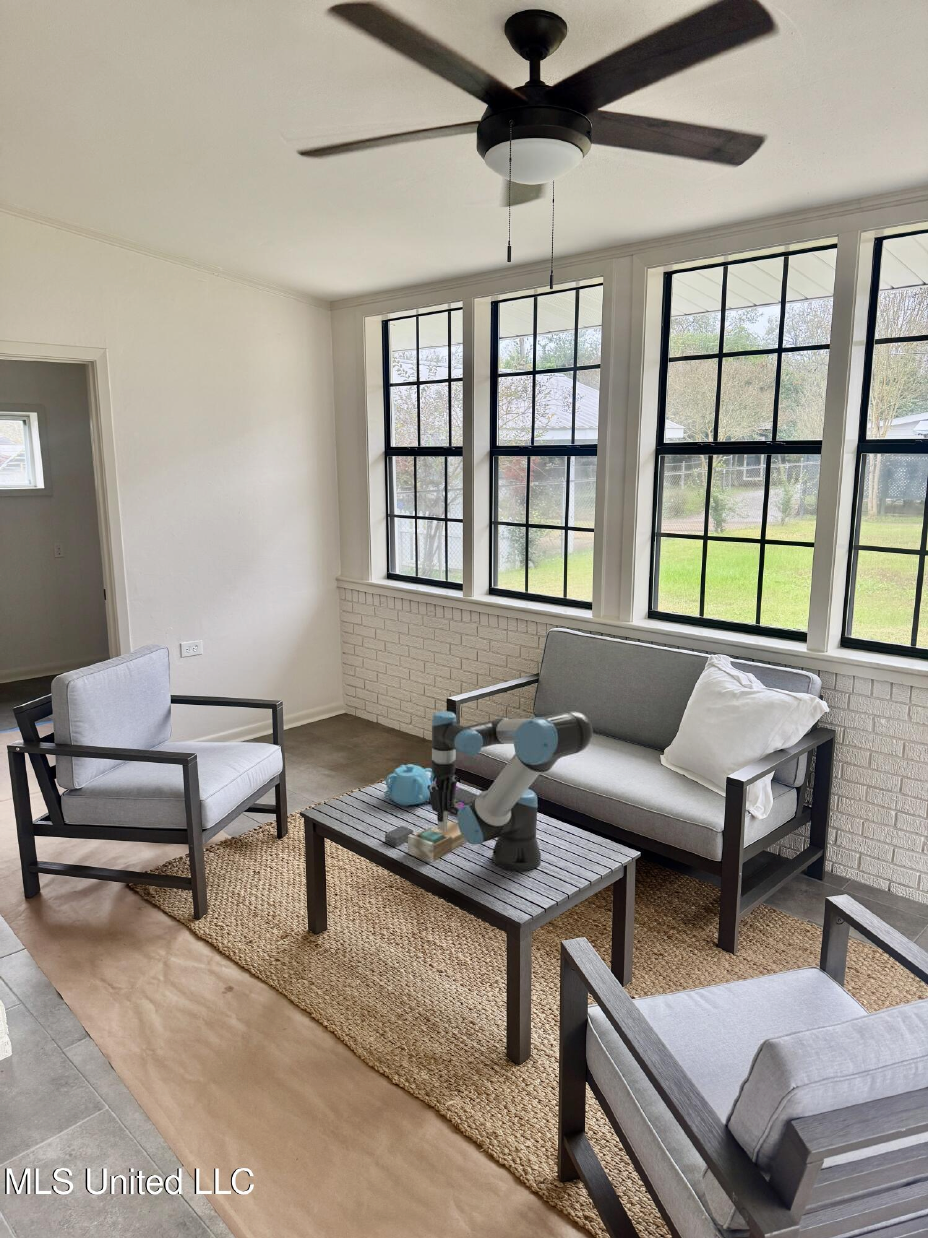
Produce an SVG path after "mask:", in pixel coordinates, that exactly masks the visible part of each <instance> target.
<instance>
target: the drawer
mask: <svg viewBox="0 0 928 1238" xmlns="http://www.w3.org/2000/svg"><path fill="white" fill-rule="evenodd" d="M428 830H432V831H434V832H437V833H440V834H442V835H443V840H441V841H439V842H437V843H435V844H434V843H432V842H429V841H427V840H424V839H422V838H420V834H422V833H424V832H426V831H428ZM466 843H468V842H467V841H466V840H465V839H464V837H463V836H462V834H461V832H460V830H459V826H458V822H457V823H456V822H453V821H452V820H449V821H448V820H447V831H445V832H444V831H441V830H438V826H437V827H435V828H432V827H428V828H425V829H424V830H422V831H420V832H418V833H416V834H413V835H411V834H410V835H408V841H407V854H409V855H411V856H413V857H414V856H415V857H416V858H419V859H421V860H424V861H426V862H428V863H433V862H434V861H436V860H438V859H439V858H442V857H444V856H446V855H447V854H449V853H451V852H452V851H454V850H455V849H457V848H458V847H460V846H462V845H464V844H466Z"/></svg>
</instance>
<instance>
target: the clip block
mask: <svg viewBox="0 0 928 1238" xmlns="http://www.w3.org/2000/svg"><path fill="white" fill-rule="evenodd" d="M432 830H433V829H431V830H428V831H426V832H424V833H422V834H420V838H422V839H424V840H427V841H429V842H432V843H434V844H435V843H437V842H439V841H441V840H443V835H442V834H440V833H437V832H434V831H432Z"/></svg>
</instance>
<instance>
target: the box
mask: <svg viewBox="0 0 928 1238" xmlns="http://www.w3.org/2000/svg"><path fill="white" fill-rule="evenodd" d="M478 795H479V794H476V793H474V792H472V791H469V790H467V789H464V788H462V787H460V786H458V785H456V790H455V796H454V802H453V806H452V807H450V808H451V811H448V813H451V814H453V815H455V816H457V813H458V810H459V809H460V808H461V807H463V806H464V805H469V804H471V803H472V802H473V801H474V800H475V798H476V797H477V796H478ZM428 804H431V805H432V803H431V797H430V798H429V800H428Z"/></svg>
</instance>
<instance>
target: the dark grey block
mask: <svg viewBox="0 0 928 1238" xmlns="http://www.w3.org/2000/svg"><path fill="white" fill-rule="evenodd" d="M410 834H411V835H414V830H413V829H411V828H409V827H406V826H405V825H404V826H403V825H401V826H399V827H397V828H394V829H392V830H390V831H388V832H386V833H385V834H384V843H386V844H388V845H390V846H393V847H395V848H397V847H399V846H401V845H403V844H405V843H408V835H410Z"/></svg>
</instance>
